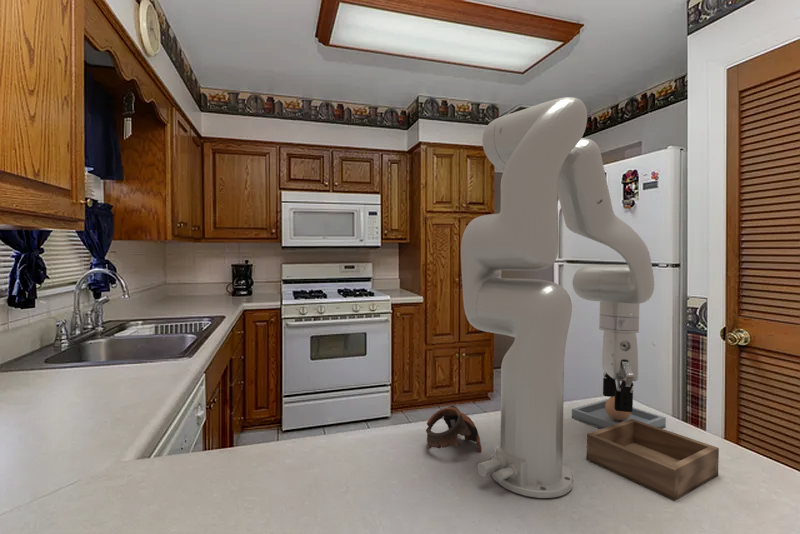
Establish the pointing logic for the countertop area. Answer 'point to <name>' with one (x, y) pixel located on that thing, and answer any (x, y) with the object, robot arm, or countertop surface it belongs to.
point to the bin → (653, 457)
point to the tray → (601, 419)
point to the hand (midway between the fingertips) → (616, 403)
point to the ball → (612, 412)
